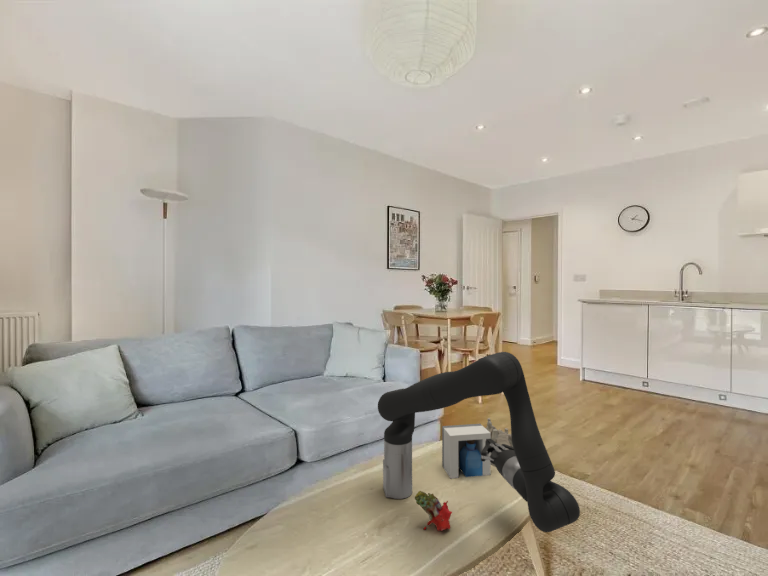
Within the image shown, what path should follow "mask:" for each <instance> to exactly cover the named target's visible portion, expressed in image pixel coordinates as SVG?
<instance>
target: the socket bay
mask: <svg viewBox="0 0 768 576" xmlns="http://www.w3.org/2000/svg"><path fill="white" fill-rule="evenodd" d="M441 428H442V429H441V431H442V432H441V434H442V435H441V436H442V437H441V444H442V445H441V447H442V448H441V453H442V454H441V455H442V456H441V458H442V459H441V465H442V468H443V470H444V471H445V473H446V474H447V476H448V478H450V479H458V478H459V468H460V451H461V449H462V448H463V446H466V441H467V440H475V442H476V446H475V447H476V448H477V449H478V451H479V453H480V455H481V451H482V450H483V448H484V447H485V442H486V439H491V433H490V432H489V431H488V430H487V429H486V427H485V426H484V425H483V424H481V423H470V424H469V423H467V424H458V425H457V424H454V425H453V424H452V425H442V426H441ZM489 455H491V453H489ZM491 467H492V465H491V462H490V460H485V461H483V476H484V477H485V476H491V471H492V470H491Z"/></svg>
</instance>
